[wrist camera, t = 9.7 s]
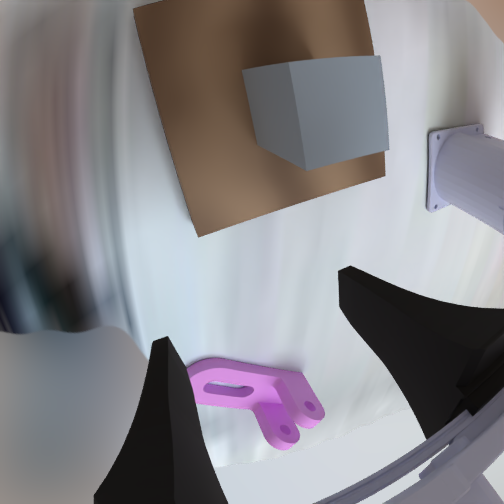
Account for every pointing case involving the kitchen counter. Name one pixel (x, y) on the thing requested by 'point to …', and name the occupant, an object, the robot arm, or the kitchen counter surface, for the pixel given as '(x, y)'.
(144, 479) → the robot arm
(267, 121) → the slate block
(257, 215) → the walnut board
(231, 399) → the bracket
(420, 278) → the kitchen counter surface
